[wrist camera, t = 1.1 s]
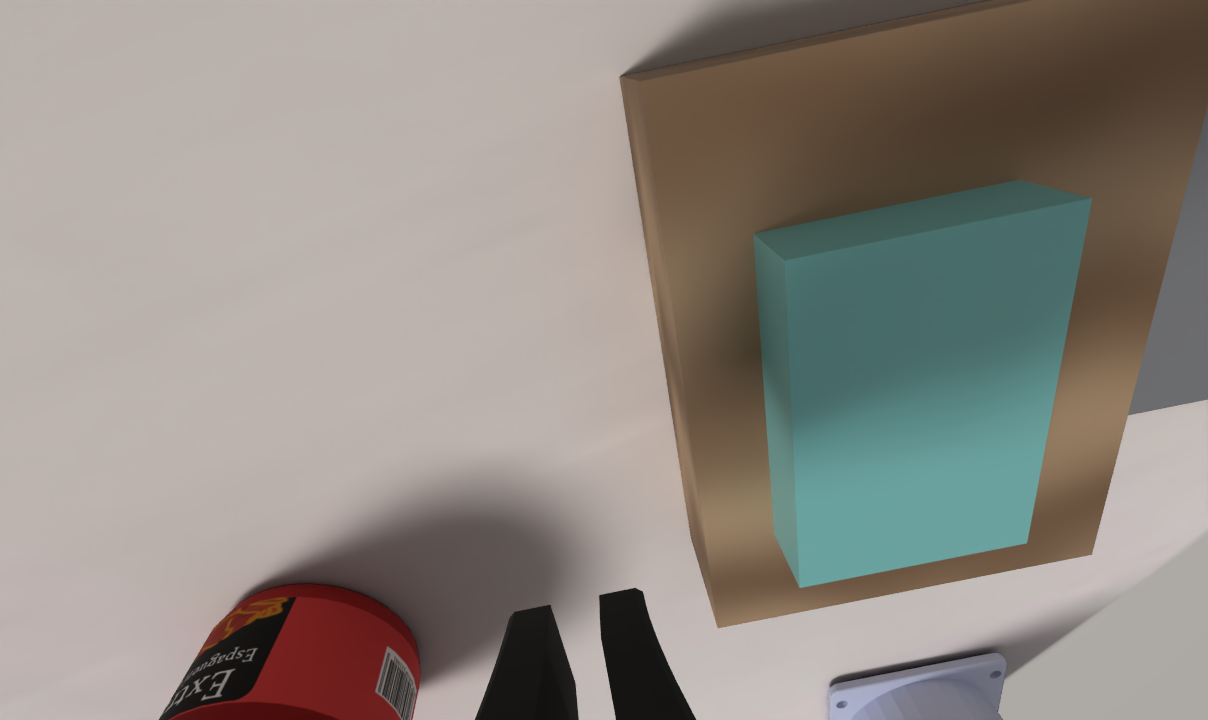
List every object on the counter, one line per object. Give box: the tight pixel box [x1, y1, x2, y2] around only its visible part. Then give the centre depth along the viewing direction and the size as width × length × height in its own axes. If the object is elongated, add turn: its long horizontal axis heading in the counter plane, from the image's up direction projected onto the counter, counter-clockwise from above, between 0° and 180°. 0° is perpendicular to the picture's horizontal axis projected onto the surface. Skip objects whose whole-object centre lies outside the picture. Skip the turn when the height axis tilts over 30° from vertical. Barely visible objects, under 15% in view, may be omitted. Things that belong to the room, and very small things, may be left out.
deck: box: [620, 0, 1208, 628], centre depth 17 cm, size 16×12×4 cm
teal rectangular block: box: [753, 180, 1092, 588], centre depth 14 cm, size 9×6×2 cm, turn 11°
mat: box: [1128, 107, 1208, 415], centre depth 18 cm, size 14×9×1 cm, turn 11°
